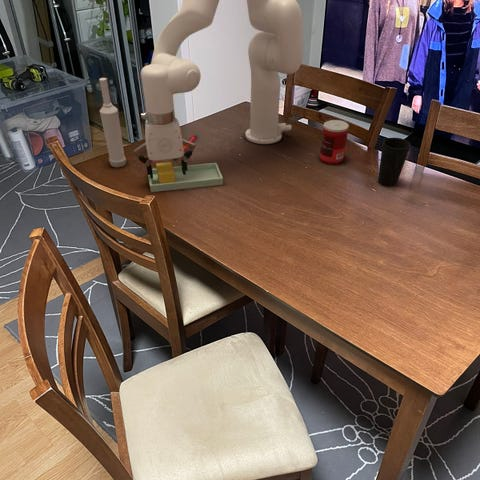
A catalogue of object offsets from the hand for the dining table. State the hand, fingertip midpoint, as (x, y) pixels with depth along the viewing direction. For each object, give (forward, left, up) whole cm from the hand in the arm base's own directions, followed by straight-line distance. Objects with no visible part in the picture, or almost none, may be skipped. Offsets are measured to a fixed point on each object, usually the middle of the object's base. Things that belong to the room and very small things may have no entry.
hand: (167, 174), depth 141 cm
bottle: (+14, -15, -2) cm, 21 cm away
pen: (-8, -22, -3) cm, 23 cm away
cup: (-64, +14, -2) cm, 65 cm away
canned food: (-53, -4, -2) cm, 53 cm away
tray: (-5, 0, -2) cm, 5 cm away
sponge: (+1, +1, -2) cm, 2 cm away
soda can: (+2, -22, -2) cm, 22 cm away
